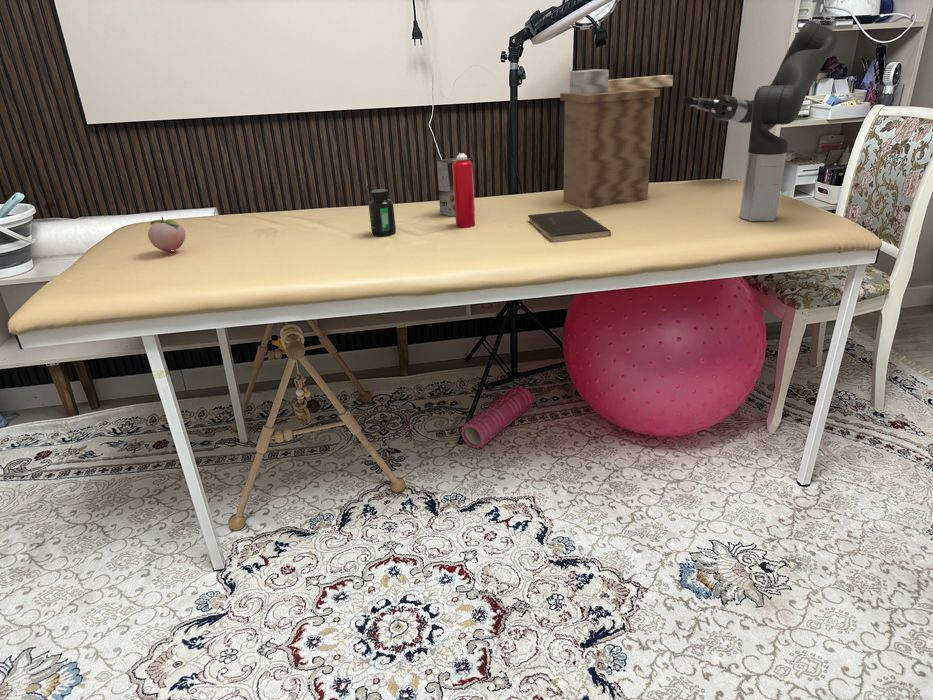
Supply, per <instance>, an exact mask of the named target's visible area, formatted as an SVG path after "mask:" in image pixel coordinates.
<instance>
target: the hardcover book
mask: <svg viewBox="0 0 933 700" xmlns="http://www.w3.org/2000/svg"><path fill="white" fill-rule="evenodd" d="M527 217H528V218H529V222H530V223H531V224H532V225H533V226H534V227H535V228H536V229H538V230H539V231H540V232H541V233H542V234H543V235H544V236H545V237H547V239H549V240H550V241H551V242H552V243H557V242H558V243H559V242H565V241H566V242H567V241H576V240H584V239H585V240H586V239H594V238H595V239H596V238H603V237H611V236H612V231H611V230H610V229H609V228H607V227H606V226H604V225H603V224H602V223H599V222H598V221H597V220H595V219H594V218H593V217H591V216H589V215H588V214H586V213H585V212H583V210H580V209H575V210H574V209H573V210H565V211H564V210H563V211H556V212H554V211H553V212H545V213H535V214H534V213H533V214H527Z"/></svg>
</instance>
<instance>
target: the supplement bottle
mask: <svg viewBox="0 0 933 700" xmlns="http://www.w3.org/2000/svg"><path fill="white" fill-rule="evenodd" d="M389 197H390V195H389V190H388V189H387V188H386V189H385V188H377V189H372V190H371V191H370V199H371V200H370V202H369V203H368V213H369V222H370V228H371V229H370V230H371V234H372V235H373V236H375V237H381V238H382V237H390V236H393V235H394V234H396V232H397V226H396V218H395V217H396V216H395V208H394V202H393V200H391V199H390V198H389Z"/></svg>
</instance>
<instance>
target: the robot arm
mask: <svg viewBox="0 0 933 700" xmlns="http://www.w3.org/2000/svg"><path fill="white" fill-rule="evenodd" d="M838 41H839V35H838V33H837V32H836V31H835V30H833V29H831V28H828V27H827V26H824V25H823V24H821V23H818V22H816V21H814V20H809V21H807V22H805V23H804V24H803V25H802V27H801V28H800V29H799V30H798V32H797V33H796V35H795V37H794V38H793V40H792V42H791V43H790V46H789V47H788V49H787V51H786V53H785V55H784V58H783V60H782V61H781V64H780V66H779V69H778V71H777V72H776V75H775V77H774V79H772V82H771V83H770V84H769V85H761V86H759V87H758V88H757V89H756V91H755V93H754V97H753V100H752V99H750V100H747V99H745V98H744V99H743V98H740V97H738V96H733V95H727V94H720V95H717V96H716V97H715V98H710V97H709V98H705V97H699V98H695V97H692V96H690V97H688V96H683V97H682V100H681V104H682V105H686V106H687V107H695V108H696V109H697V110H702V111H704V112H708V113H710V115H711V117H712V118H713V119H714V120H719V121H724V122H725V121H726V122H730V123H731V122H732V123H740V124H749V123H750V133H749V140H748V141H749V143H748V149H747V157H746V164H745V171H744V178H743V185H742V194H741V199H740V200H741V202H740V211H739V218H741V219H742V220H746V221H749V222H774V221H775V220H776V219H777V217H778V216H777V214H778V209H779V202H780V196H781V190H782V183H783V177H784V171H785V166H786V160H787V153H788V148H789V147H788V146H789V143H788V140H786V139H785V138H783V137H780V136H777V135H775V134H774V133H773V132H771V130H772V129H773V128H774V127H775V126H776V125H781V126H782V125H789V124H792V123H793V122H794V121H796V119H797V117H798V116H799V114H800V112H801V110H802V107H803V105H804V101H805V99H806V96H807V94H808V92H809V91H810V89H811V87H812V86H813V85H814V83H815V82H816V79H817V78H818V76H819V73H820V71H821V70H822V67H823V65H825V62H826V61H827V60H828V58H829V57H830V56H831V54H832V52H833V51H834V50H835V48H836V47H837V44H838Z"/></svg>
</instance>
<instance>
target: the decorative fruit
mask: <svg viewBox="0 0 933 700" xmlns="http://www.w3.org/2000/svg"><path fill="white" fill-rule="evenodd" d="M147 231H148V232H147V237H148V239H149V242H150V243H151V244H152V246H153V247H154V248H156V249H158V250H160V251H163V252H168V253H170V254H172V253H174V252H176V251H177V250H179V249H180V248H181V247H182V246H183V244H184V242H185V241H186V231H185V229H184V227H183V226H182V225H181V223H179V222H177V221H175V220H173V219H167V220H164V217H163V216H161V219H155V220H152V221H150V227H149V228H148V230H147ZM176 249H177V250H176ZM171 250H174V251H171Z"/></svg>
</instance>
